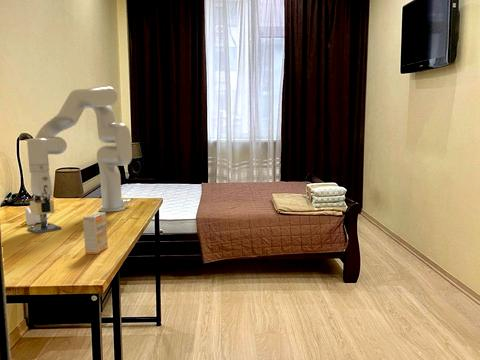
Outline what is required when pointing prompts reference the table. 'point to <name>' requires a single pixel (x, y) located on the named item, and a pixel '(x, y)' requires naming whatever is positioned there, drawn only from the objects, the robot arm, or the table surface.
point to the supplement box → (95, 232)
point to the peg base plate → (44, 226)
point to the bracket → (32, 217)
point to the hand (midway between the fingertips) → (42, 210)
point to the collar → (40, 207)
